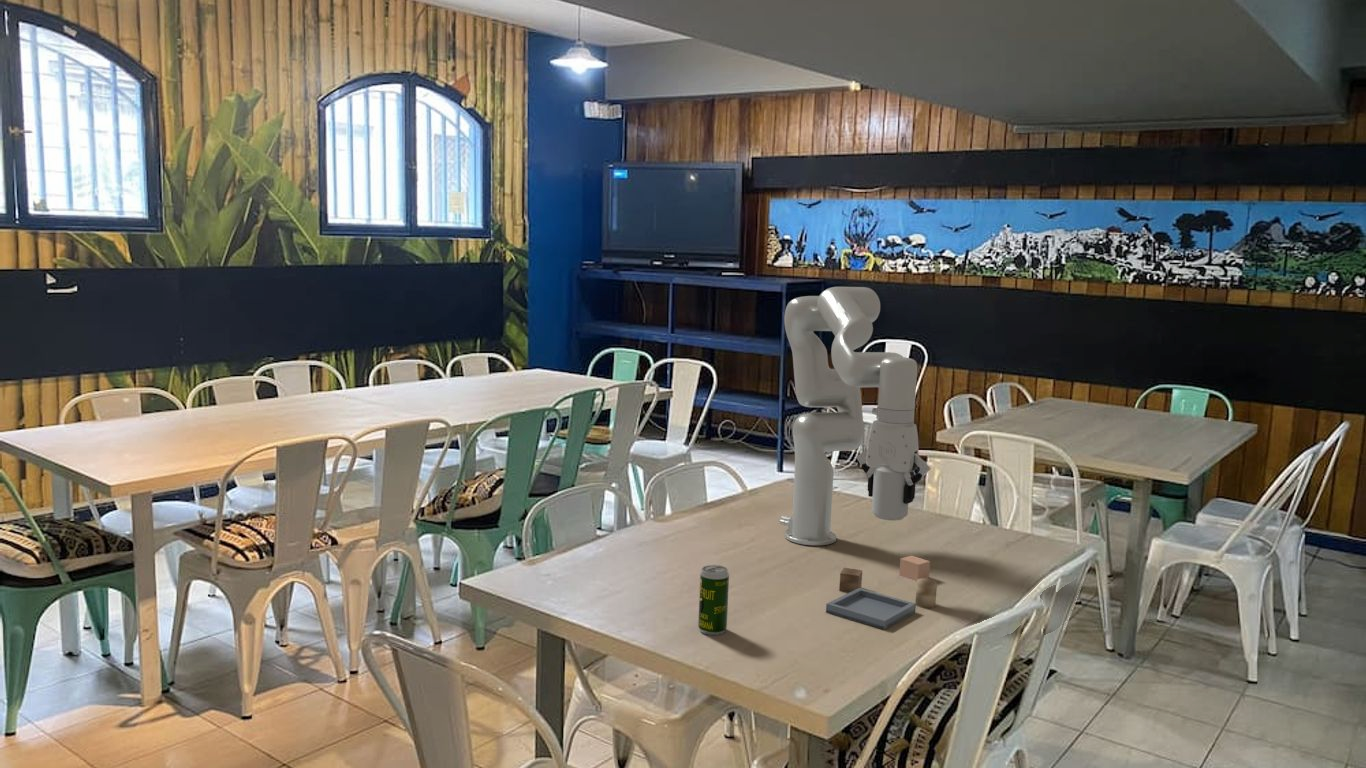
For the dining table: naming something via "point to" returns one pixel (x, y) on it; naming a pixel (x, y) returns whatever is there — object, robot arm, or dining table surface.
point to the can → (888, 494)
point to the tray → (871, 608)
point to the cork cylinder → (926, 593)
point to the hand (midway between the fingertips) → (890, 498)
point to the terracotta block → (914, 568)
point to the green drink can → (713, 600)
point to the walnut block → (850, 579)
